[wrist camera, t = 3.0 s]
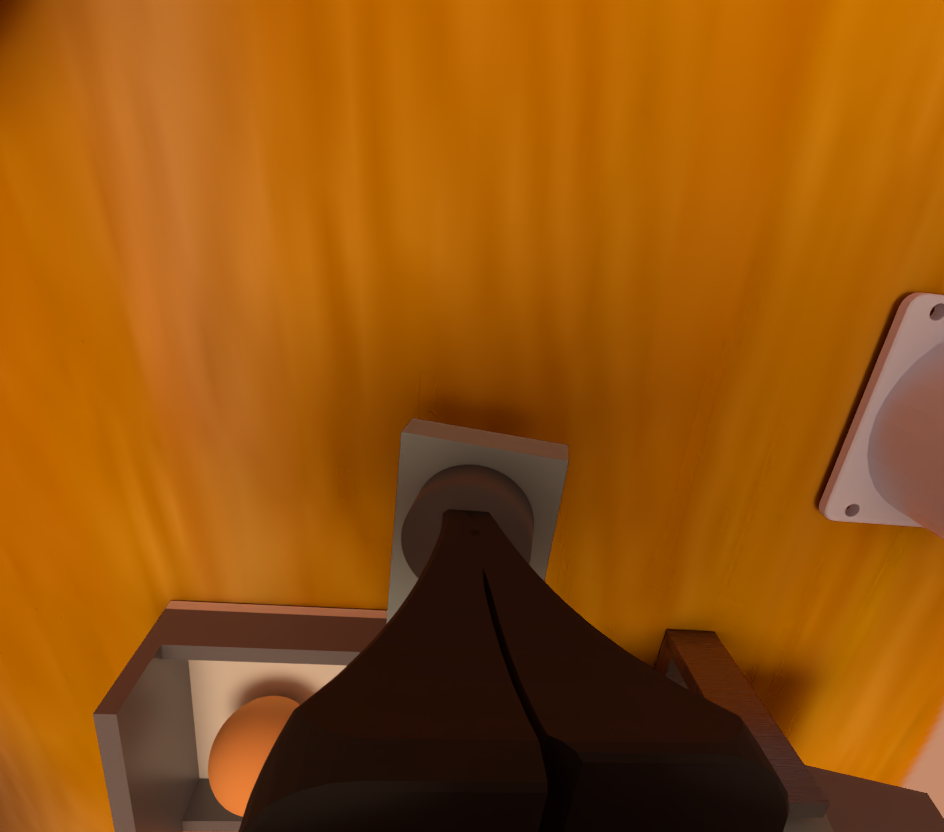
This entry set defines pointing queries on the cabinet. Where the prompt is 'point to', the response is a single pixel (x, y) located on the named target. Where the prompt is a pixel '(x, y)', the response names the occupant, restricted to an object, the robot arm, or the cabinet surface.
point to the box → (209, 699)
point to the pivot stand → (739, 709)
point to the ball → (245, 749)
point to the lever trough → (531, 532)
